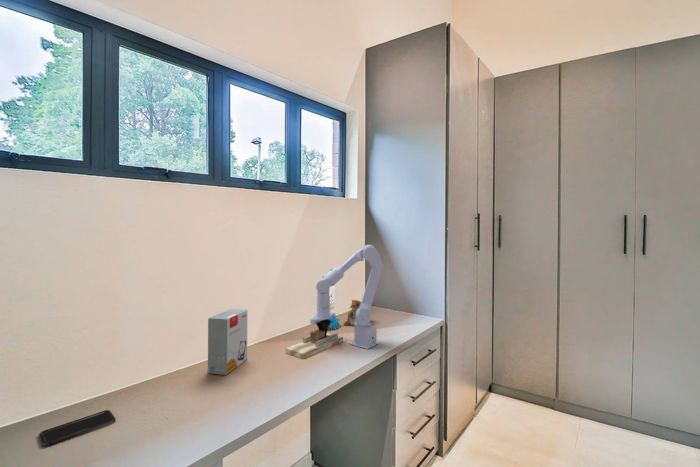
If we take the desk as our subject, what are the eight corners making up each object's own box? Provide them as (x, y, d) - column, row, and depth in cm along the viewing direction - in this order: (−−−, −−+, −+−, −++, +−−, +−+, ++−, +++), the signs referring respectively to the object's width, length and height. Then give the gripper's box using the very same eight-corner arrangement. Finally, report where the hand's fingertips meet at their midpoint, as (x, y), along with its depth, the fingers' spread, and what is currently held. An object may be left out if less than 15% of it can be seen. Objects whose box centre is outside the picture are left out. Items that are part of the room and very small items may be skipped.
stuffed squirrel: (342, 325, 183) (342, 300, 182) (355, 319, 195) (355, 295, 194) (358, 328, 178) (359, 303, 177) (371, 322, 190) (371, 297, 189)
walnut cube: (324, 341, 153) (324, 331, 153) (317, 344, 149) (317, 333, 149) (317, 339, 156) (317, 329, 155) (310, 341, 152) (310, 331, 152)
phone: (38, 432, 88) (108, 409, 99) (38, 436, 89) (108, 412, 100) (42, 445, 83) (116, 419, 94) (42, 450, 83) (116, 423, 94)
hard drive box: (226, 376, 123) (226, 319, 122) (207, 374, 124) (206, 318, 124) (248, 359, 138) (247, 308, 137) (230, 357, 140) (230, 307, 139)
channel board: (343, 341, 159) (343, 332, 158) (302, 358, 138) (302, 348, 138) (326, 337, 165) (326, 328, 165) (285, 353, 144) (285, 343, 144)
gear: (328, 328, 172) (320, 311, 177) (322, 335, 175) (315, 318, 180) (344, 327, 179) (337, 310, 185) (338, 333, 182) (331, 317, 188)
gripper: (327, 302, 163) (327, 330, 164) (305, 308, 152) (305, 339, 152) (339, 304, 159) (338, 333, 159) (317, 310, 147) (317, 342, 148)
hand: (323, 336), depth 155 cm, fingers closed
